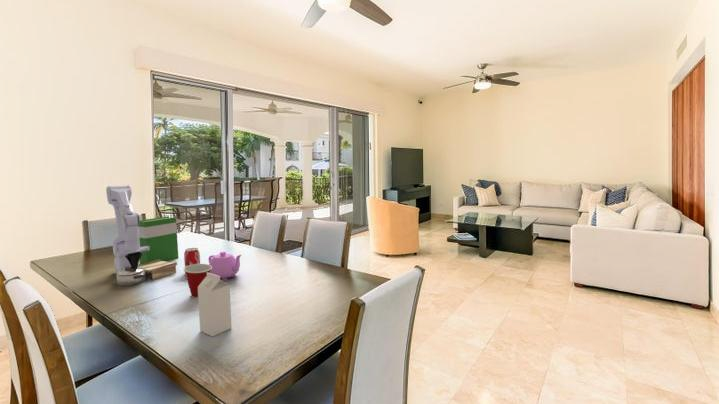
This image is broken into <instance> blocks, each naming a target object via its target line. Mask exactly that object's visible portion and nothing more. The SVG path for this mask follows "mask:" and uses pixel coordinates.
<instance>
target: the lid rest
mask: <svg viewBox="0 0 719 404" xmlns="http://www.w3.org/2000/svg"><path fill="white" fill-rule="evenodd" d="M177 266H178V262H177V261H176V262H171V261H161V260H160V259H159V260H156V261H152V262H148V263H145V264H138V267H142V268H144V270H145V274H146V275H148V274H151V280H156V279H159V278H163V277H166V276H169V275H172V274H175V273H177Z"/></svg>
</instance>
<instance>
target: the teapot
mask: <svg viewBox="0 0 719 404" xmlns="http://www.w3.org/2000/svg"><path fill="white" fill-rule="evenodd" d="M241 256H242V254H238V255H237V256H236V257H235V256H234V255H233V253H227V252H226V251H221V252H219V254H216V255H214V254H212V255H210V256H209V257H208V265H211V266H212V269H211V270H210V273H211V274H214V275H217V276H220V279H221V280H222V281H223V282H226V281H228V278H230V277H231V278H233V277H234V278H235V277H237V275H236V274H237V273H239V271H240V266H241V263H240V258H241Z"/></svg>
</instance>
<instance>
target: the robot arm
mask: <svg viewBox="0 0 719 404" xmlns="http://www.w3.org/2000/svg"><path fill="white" fill-rule="evenodd" d="M105 191H106V197H107V203H108V204H109V205H112V206H113V210H114V214H115V215H114V216H115V221H116V223H115V224H116V228H117V229H116V230H117V235H118V237H116V238H115V239H114V240H113V241H112V251H113V255H114V259H113V264H114V265H113V266H114V268H113V269H114V271H112V273H113V274H114V275H116V273H117V272H118V271H120V270H123V269H125V267H128V266H129V267H134V268H136V269H137V267H138V265H139V263H140V258H141V256H142V253H140V252H143V251H148V250H150V249H149V246H144V247H140V239H139V227H138V226H140V220H141V219H140V215H139V214H138V212H136V211H135V208H134V205H133V204H131V203H130V201H131V199H132V188H131V185H129V184H128V185H112V186H111V185H110V186H109V185H108V186H107V187H106V190H105Z"/></svg>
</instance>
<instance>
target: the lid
mask: <svg viewBox="0 0 719 404" xmlns="http://www.w3.org/2000/svg"><path fill="white" fill-rule="evenodd" d="M143 271H144V268H142V267H137V269H136V268H134V267H129V266H128V267H125V269H123V270H120V271H118V272H117V275H121V276H126V275H134V274H138V273H141V272H143Z"/></svg>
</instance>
